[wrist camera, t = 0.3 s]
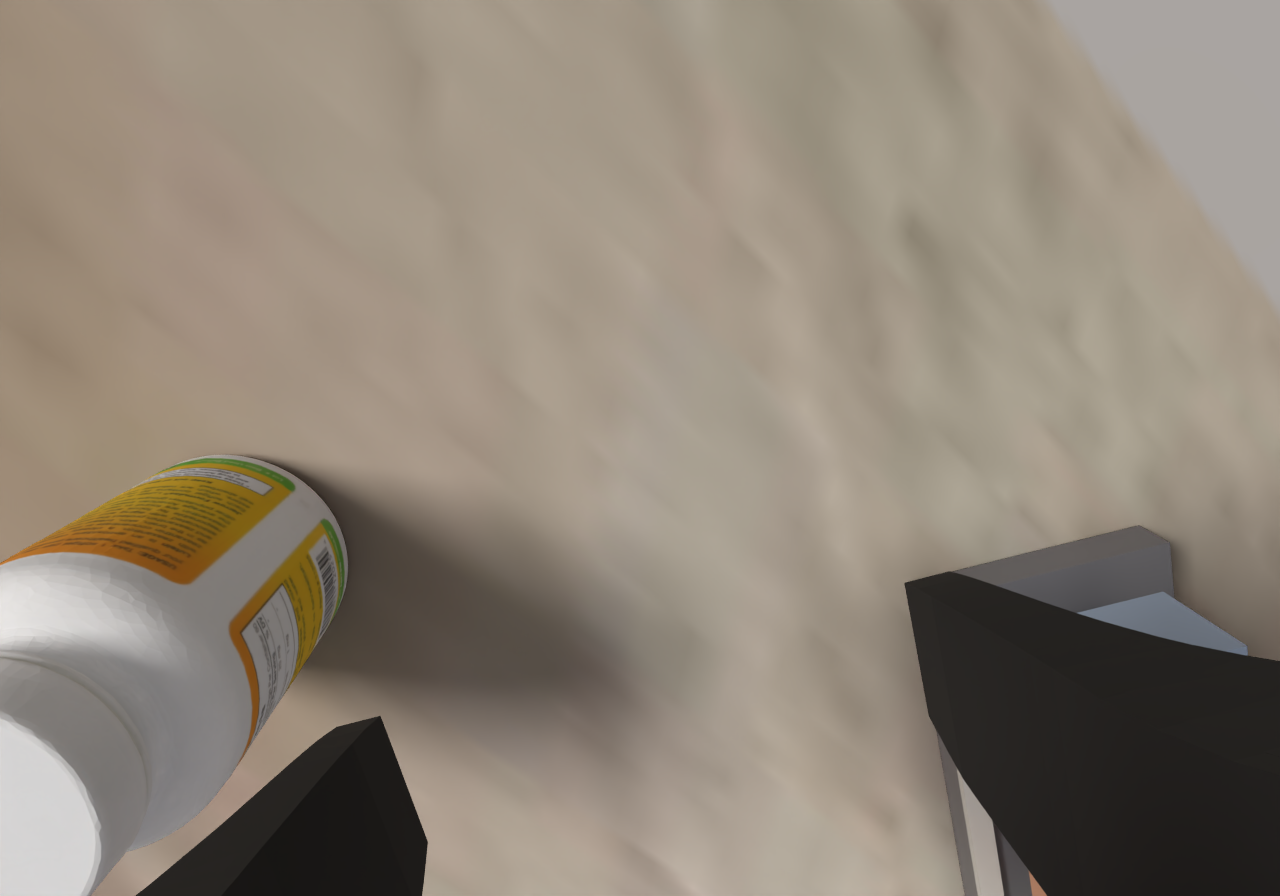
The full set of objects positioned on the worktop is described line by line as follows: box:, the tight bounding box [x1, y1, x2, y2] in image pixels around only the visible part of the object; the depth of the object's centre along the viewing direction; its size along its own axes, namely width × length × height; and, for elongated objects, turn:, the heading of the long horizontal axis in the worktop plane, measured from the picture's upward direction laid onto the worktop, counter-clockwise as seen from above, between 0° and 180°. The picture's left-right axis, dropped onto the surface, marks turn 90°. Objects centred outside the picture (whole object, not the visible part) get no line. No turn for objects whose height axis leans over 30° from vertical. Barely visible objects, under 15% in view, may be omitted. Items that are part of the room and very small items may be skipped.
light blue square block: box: [1078, 592, 1248, 656], centre depth 19 cm, size 4×4×3 cm
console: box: [937, 525, 1174, 896], centre depth 23 cm, size 16×6×2 cm, turn 14°
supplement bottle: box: [0, 455, 348, 896], centre depth 16 cm, size 5×5×10 cm
